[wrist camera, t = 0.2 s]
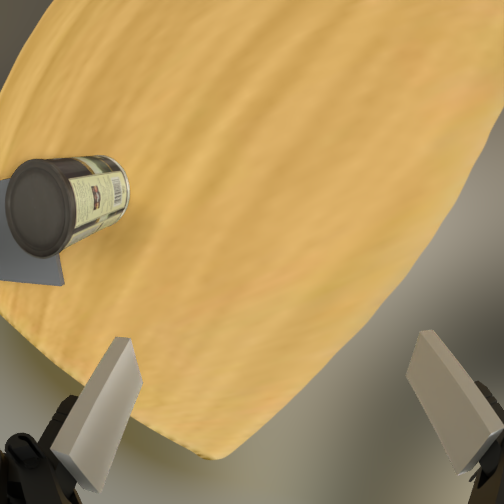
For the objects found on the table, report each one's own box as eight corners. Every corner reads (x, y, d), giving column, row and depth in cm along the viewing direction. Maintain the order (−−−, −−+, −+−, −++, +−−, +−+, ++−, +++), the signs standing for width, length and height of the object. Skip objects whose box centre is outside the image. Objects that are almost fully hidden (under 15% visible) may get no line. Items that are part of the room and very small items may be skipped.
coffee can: (60, 181, 38) (-7, 195, 24) (109, 140, 36) (44, 138, 23) (90, 240, 40) (31, 274, 27) (143, 205, 39) (88, 229, 25)
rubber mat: (-15, 184, 38) (-19, 184, 37) (49, 170, 37) (46, 171, 36) (0, 278, 43) (-4, 279, 42) (64, 283, 43) (61, 286, 42)
